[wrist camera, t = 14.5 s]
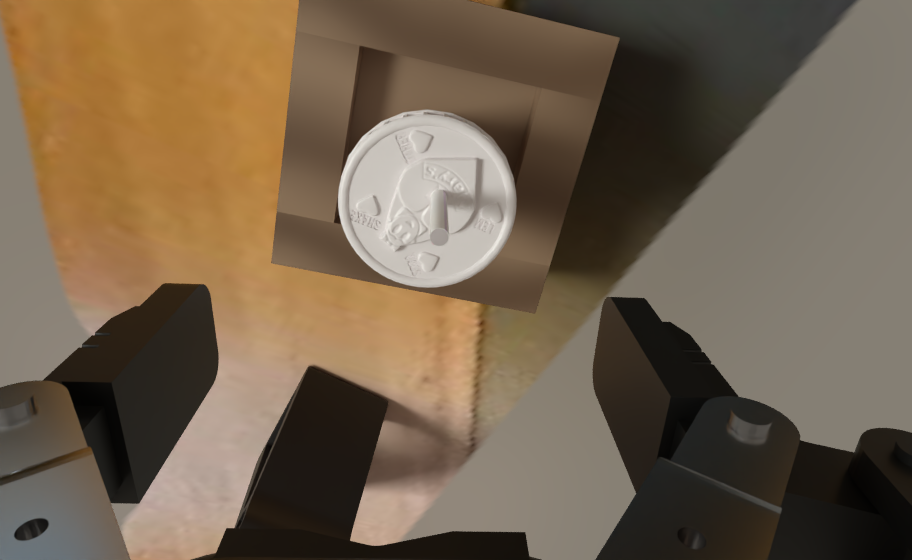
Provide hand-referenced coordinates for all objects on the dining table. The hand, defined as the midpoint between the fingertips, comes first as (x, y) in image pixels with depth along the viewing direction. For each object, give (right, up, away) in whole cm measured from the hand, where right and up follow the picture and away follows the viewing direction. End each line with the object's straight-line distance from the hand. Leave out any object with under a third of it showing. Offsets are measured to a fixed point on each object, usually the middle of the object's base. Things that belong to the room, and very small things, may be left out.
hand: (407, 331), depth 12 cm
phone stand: (-8, -9, +30) cm, 32 cm away
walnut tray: (0, +9, +22) cm, 24 cm away
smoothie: (0, +8, +18) cm, 19 cm away
